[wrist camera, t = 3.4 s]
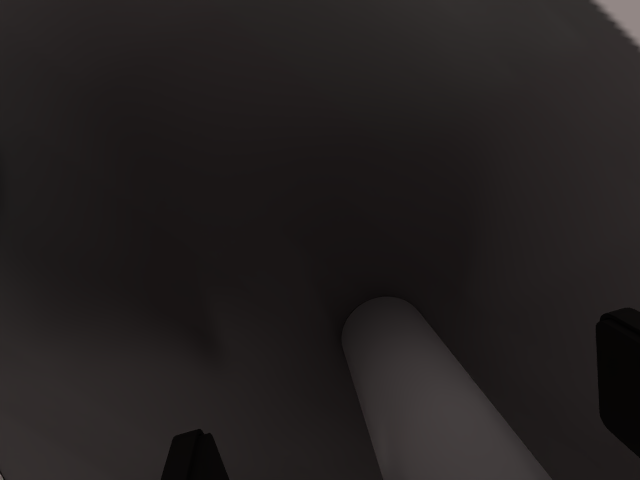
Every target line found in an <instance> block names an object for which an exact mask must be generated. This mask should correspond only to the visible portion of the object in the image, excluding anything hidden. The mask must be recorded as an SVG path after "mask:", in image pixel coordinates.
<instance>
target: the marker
mask: <svg viewBox="0 0 640 480" xmlns="http://www.w3.org/2000/svg"><path fill="white" fill-rule="evenodd" d="M341 343H342V348H343V351H344V355H345V358H346V361H347V364H348V367H349V371H350V374H351V377H352V380H353V384H354V387H355V390H356V393H357V396H358V400H359V403H360V406H361V409H362V412H363V416H364V419H365V422H366V425H367V429H368V432H369V435H370V438H371V441H372V445H373V448H374V451H375V454H376V457H377V461H378V464H379V467H380V470H381V474H382V477H383V480H552V478H551V477H550V476H549V475H548V473H547V472H546V471H545V470H544V468H543V467H542V466H541V465H540V463H539V462H538V461H537V460H536V458H535V457H534V456H533V455H532V453H531V452H530V451H529V450H528V448H527V447H526V446H525V445H524V443H523V442H522V441H521V439H520V438H519V437H518V436H517V434H516V433H515V432H514V431H513V429H512V428H511V427H510V426H509V424H508V423H507V422H506V421H505V419H504V418H503V417H502V416H501V414H500V413H499V412H498V411H497V409H496V408H495V407H494V406H493V404H492V403H491V402H490V401H489V399H488V398H487V397H486V396H485V394H484V393H483V392H482V390H481V389H480V388H479V387H478V385H477V384H476V383H475V382H474V380H473V379H472V378H471V377H470V375H469V374H468V373H467V372H466V370H465V369H464V368H463V367H462V365H461V364H460V363H459V362H458V360H457V359H456V358H455V357H454V355H453V354H452V353H451V352H450V350H449V349H448V348H447V346H446V345H445V344H444V343H443V341H442V340H441V339H440V338H439V336H438V335H437V334H436V333H435V331H434V330H433V329H432V328H431V326H430V325H429V324H428V323H427V321H426V320H425V319H424V318H423V316H422V315H421V314H420V313H419V311H418V310H417V309H416V308H415V307H414V306H413V305H412V304H410V303H409V302H407V301H405V300H403V299H400V298H396V297H387V296H386V297H378V298H374V299H371V300H368V301H366V302H364V303H363V304H361V305H360V306H358V307H357V308H356V309H355V310H354V311H353V312H352V313H351V314H350V315H349V317H348V318H347V320H346V322H345V324H344V327H343V330H342V336H341Z"/></svg>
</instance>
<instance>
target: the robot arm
mask: <svg viewBox="0 0 640 480" xmlns="http://www.w3.org/2000/svg"><path fill="white" fill-rule="evenodd" d="M596 346H597V367H598V389H599V411H600V417H601V419H602V421H603V423H604V425H605V426H606V428H607V429H608V430H609V431H610V432H611V433H613V434H614V435H615V436H616V437H617V438H618V439H619V440H620V441H621V442H623V443H624V444H625V445H626V446H627V447H628V448H629V449H630V450H632V451H633V452H634V453H635V454H636V455H637V456H638V457H639V458H640V312H639V311H637V310H635V309H632V308H623V309H619V310H616V311H612V312H609V313H605V314H603V315H602V316H601V318H600V322H598V323H597V325H596ZM161 480H229V478H228V475H227V473H226V470H225V467H224V465H223V462H222V459H221V457H220V454H219V452H218V449H217V446H216V444H215V441H214V438H213V436H212V435H211V433H208V434H204V433H203V431H202V430H201V429H197V430H194V431H190V432H187V433H183V434H180V435H176V436H175V437H174V438H173V440H172V444H171V447H170V450H169V454H168V457H167V461H166V464H165V467H164V471H163V474H162V478H161Z"/></svg>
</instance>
